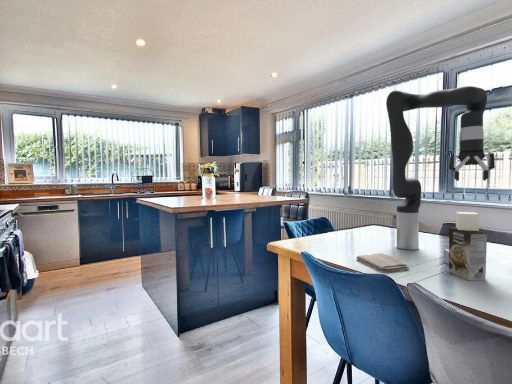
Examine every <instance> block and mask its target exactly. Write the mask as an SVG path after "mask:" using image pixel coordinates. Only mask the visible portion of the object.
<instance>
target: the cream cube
mask: <svg viewBox="0 0 512 384" xmlns="http://www.w3.org/2000/svg"><path fill="white" fill-rule="evenodd" d="M455 227H456V228H457V229H458V230H470V231H479V230H480V213H477V212H476V211H475V212H473V211H456V212H455Z"/></svg>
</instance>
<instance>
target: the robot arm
mask: <svg viewBox="0 0 512 384" xmlns="http://www.w3.org/2000/svg"><path fill="white" fill-rule="evenodd" d="M487 101H488V94H487V91H486V90H485V89H484V88H482V87H477V86H472V85H469V86H461V87H456V88H452V89H451V88H450V89H449V88H448V89H441V90H440V89H439V90H438V89H437V90H433V91H430V92H427V93H422V94H417V93H409V92H407V91H403V90H393V91H390V92H389V94H388V96H387V98H386V102H385V103H386V104H385V105H386V111H387V116H388V121H389V122H388V123H389V133H390V142H391V143H390V145H391V154H392V155H391V156H392V191H393V194H394V196H395V197H396V198H398V199H404V201H403V202H402V203H400V204H398V205H397V206H396V249H402V250H409V251H410V250H411V251H412V250H413V251H414V250H418V249H419V244H420V242H419V236H420V235H419V224H420V223H419V222H420V221H419V219H420V217H419V216H420V215H419V212H420V211H419V210H420V207H421V204H422V203H421V200H422V185H421V182H420V181H419V179H418V178H413V177H408V178H406V177H407V176H406V169H407V164H408V163H409V161H410V159H411V156H412V155H413V152H414V140H413V135H412V132H411V130H410V128H409V126H408V124H407V123H406V120H405V117H404V116H405V115H404V112H407V111H413V110H416V109H427V108H430V109H431V108H433V109H434V108H451V107H454V106H466V108H465V112H464V113H462V114H461V116H460V124H459V125H460V131H459V137H458V138H459V139H458V140H459V144H458V145H459V150H458V151H459V152H458V155H454V154H451V155H450V156H449V160H448V161H449V163H448V170H450V171H453V172H454V175H453V177H454V180H456V182H457V181H458V182H459V181H460V171H459V170H460V169H462V168H463V166H470V165H471V166H479V167H480V168H481V169H482V181H487V180H488V179H489V171H490V170H493V169H495V168H496V162H495V153H494V152H490V153H484V143H485V142H484V136H485V135H484V134H485V133H484V113H485V110H486V106H487V103H488V102H487ZM484 158H486V159H487V160H488V166H487V165H486V163H485V162H484V161H483V160H484ZM457 159H458V160H460V162H459V163H458V165H456V167H454V166H455V165H454V163H455V162H454V161H456V160H457Z"/></svg>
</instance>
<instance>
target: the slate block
mask: <svg viewBox="0 0 512 384" xmlns="http://www.w3.org/2000/svg"><path fill="white" fill-rule="evenodd" d="M443 262H444V263H446V264H447V265H449V248H448V249H447V248H444V249H443Z"/></svg>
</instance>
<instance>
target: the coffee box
mask: <svg viewBox="0 0 512 384" xmlns="http://www.w3.org/2000/svg"><path fill="white" fill-rule="evenodd" d="M487 239H488V231H484V230H480V229H479V231H470V230H458V229H457V228H456V226H452V227H449V228H448V249H449V264H448V272H449V273H451V274H453V275H456V276H457V277H460V278H462V279H465V280H466V281H484V280H487V279H486V277H487V275H486V274H487V271H486V270H487V242H488V241H487Z"/></svg>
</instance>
